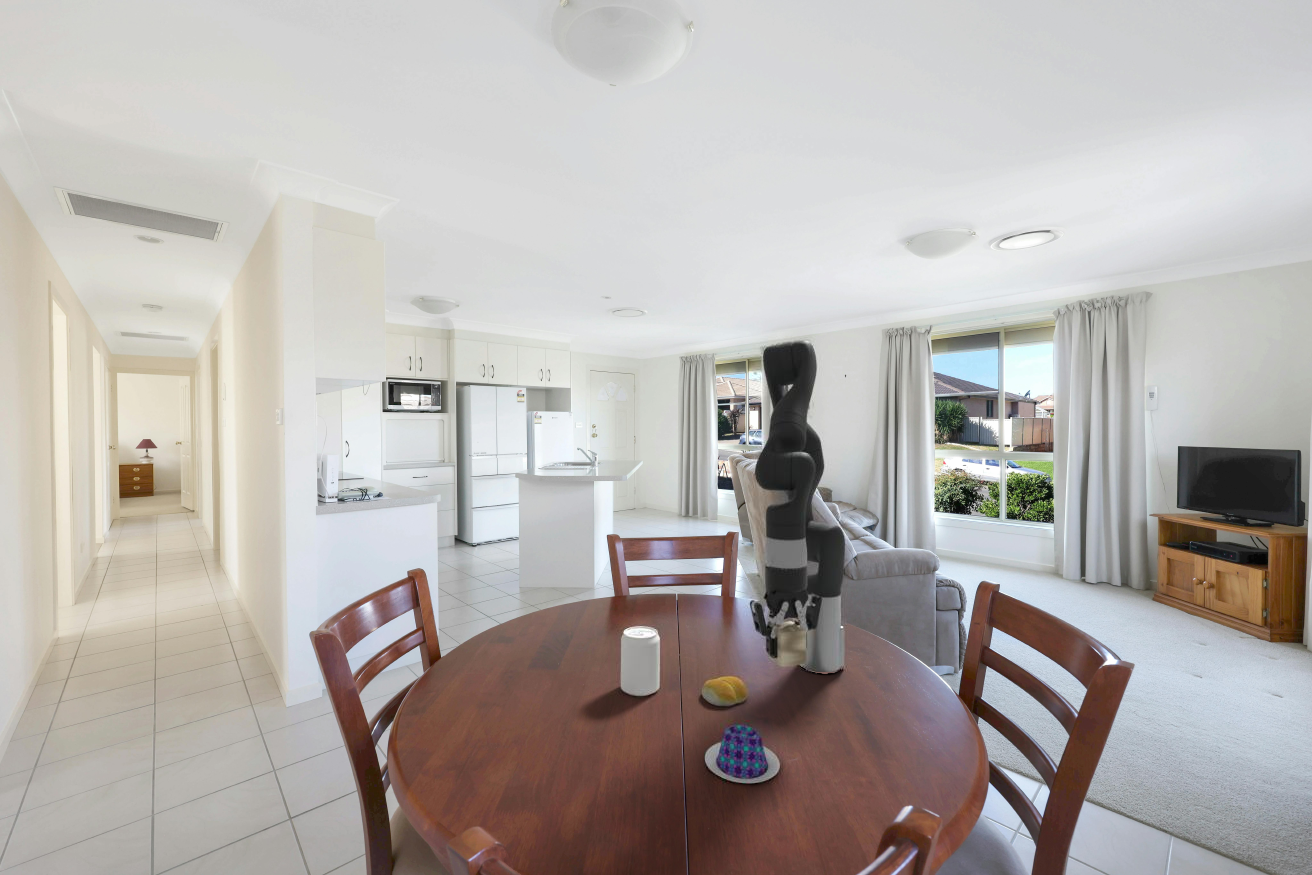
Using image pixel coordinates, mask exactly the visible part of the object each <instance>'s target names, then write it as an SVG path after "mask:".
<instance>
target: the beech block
mask: <svg viewBox="0 0 1312 875" xmlns="http://www.w3.org/2000/svg"><path fill="white" fill-rule="evenodd" d="M776 638H777V647H778V657H777V658H774V659H773V658H772V657H771V656H770V655H769V654H768V653H767V657H768V658H769V659H771V661H773V662H774V663H776V664H777V665H778V666H779V667H781V668H786V667H794V666H798V665H799V666H800V664H806V630H805V629H803V628H801V627H800V626H799V625H797V624H794V621H792V620H788V621H783V622H782V625H781V626H780V627H779V630H778V633H777V636H776Z"/></svg>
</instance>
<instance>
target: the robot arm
mask: <svg viewBox="0 0 1312 875" xmlns="http://www.w3.org/2000/svg"><path fill="white" fill-rule="evenodd" d="M817 363H818V362H817V356H816V352H815V349H814V346H813V344H812V343H811V342H810V341H809V340H797V341H796V340H795V341H791V342H784V343H779V344H775V345H774V344H773V345H770V346H767V347H765V349H764V350H763V353H762V365H763V370H764V376H765V380H766V384H767V389H768V393H769V396H770V399H771V400H770V401H771V405H772V412H771V415H770V420H769V421H770V422H769V431H768V437H767V440H766V443H765V444H764V447H763V448H762V450H761V452H760V454H759V456H758V458H757V461H756V464H755V467H754V476H755V481H756V482H757V484H758V486H759V487H760V488H761V489H763V490H766V491H782V492H783V491H784V492H786V493H787V501H783V502H778V503H776V502H775V503H773V504H769V505H767V507H766V510H765V544H764V585H765V593H764V595H763V598H762V599H758V600H754V599H753V600H750V601H749V607H750V611H751V616H752V620H753V624H754V628H755V631H756V632H757V633H759V634H760V635H762V636H763V637H765V651H766V653H767V655H768V654H769V655H770V656H771V657H772V658H773V659H774V658H777V657H778V647H777V638H776V636H777V633H778V630H779V627H780V626H781V625H782V622H784V620H786V619H789V618H791V619H792V620H793V621H792V622H794V624H797V625H799V626H800V627H801V628H803V629H805V630H806V664H800V665H799V667H800V666H801V667H803V668H805V669H807V670H811V671H815V672H831V671H835V670H837V669H839V668H840V667H841V666H844V667H845V627H844V626H843V625H841V624H842V623H841V622H842V620H841V618H842V617H841V613H842V610H841V609H842V605H841V604H842V602H841V601H842V599H841V598H842V586H843V583H844V582H843V581H844V575H845V574H844V573H845V572H844V571H845V570H844V569H845V554H846V553H845V552H846V539H845V534H844V531H843V530H842V528H841V527H840V526H838V525H836V524H831V523H826V522H825V523H824V522H819V521H818V522H817V521H815V519H814V516H813V515H814V514H813V497H814V495H815V492H816V490H817V488H818V487H819V484H820V482H821V480H822V477H823V475H824V471H825V459H824V453H823V446H822V442H821V438H820V436H819V435H818V433H817V432H816V431H815V430H814V428H813V427H812V426H811V424H810V423H808V414H809V412H808V411H809V407H810V403H811V399H812V396H813V391H814V387H815V383H816V378H817V370H818V369H817V368H818V365H817ZM785 386H791V387H790V388H789V390H788V391H786V387H785ZM808 562H812V563H817V564H818V568H817V572H816V573H815V574H811V575H808ZM766 607H767V608H768V612H767V615H766V617H765V612H766ZM801 667H800V668H801ZM803 668H802V669H803ZM807 670H806V671H807Z"/></svg>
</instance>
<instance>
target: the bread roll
mask: <svg viewBox="0 0 1312 875" xmlns="http://www.w3.org/2000/svg"><path fill="white" fill-rule="evenodd" d="M701 694H702V697H703V699H704V700H706V702H708V703H710V704H711V705H712V706H713V705H714V706H718V707H719V706H720V707H731V706H734V705H736V704H741V703H743V702H744V701H746V700H747V698H748V689H747V686H746V685H745V683H744V682H743V680H741V679H740V678H738V677H736V676H732V675H729V676H720V677H718V678H716V679H715V678H714V679H708V680H706V682H705V683H704V684H703V686H702V689H701Z"/></svg>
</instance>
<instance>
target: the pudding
mask: <svg viewBox="0 0 1312 875" xmlns="http://www.w3.org/2000/svg"><path fill="white" fill-rule="evenodd" d="M704 761H705V764H706V766H707V767H708V770H710V771H711V772H712V773H714V774H715V775H717V776H719V777H721V778H722V779H725V780H727V781H731V782H734V783H740V784H741V783H742V784H755V783H762V782H765V781H768V780H769V779H772V778H773V777H774V776H776V775H777V774H778V772H779V771H780V769H781V768H780V766H781V763H780V760H779V758H778V757H777V755H776V754H775V752H773V750H772V751H771V749H769V748H767V747H766V746H764V743H763V738H762V736H761V735H760V732H758V731H757V729H756V728H755V727H753V726H752V727H751V726H748V725H747V724H739V725H738V724H733V725H730V727H727V728H726V729H724V732H723V734H722V738H721V741H720V742H718V743H715V744H713V745H712V746H710V747H709V748H708V749H707V750H706V752H705V754H704ZM766 769H767V770H766ZM722 770H723V771H722ZM765 770H766V772H765ZM754 776H755V777H754Z"/></svg>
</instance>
